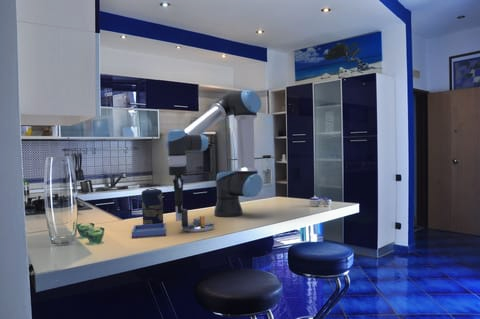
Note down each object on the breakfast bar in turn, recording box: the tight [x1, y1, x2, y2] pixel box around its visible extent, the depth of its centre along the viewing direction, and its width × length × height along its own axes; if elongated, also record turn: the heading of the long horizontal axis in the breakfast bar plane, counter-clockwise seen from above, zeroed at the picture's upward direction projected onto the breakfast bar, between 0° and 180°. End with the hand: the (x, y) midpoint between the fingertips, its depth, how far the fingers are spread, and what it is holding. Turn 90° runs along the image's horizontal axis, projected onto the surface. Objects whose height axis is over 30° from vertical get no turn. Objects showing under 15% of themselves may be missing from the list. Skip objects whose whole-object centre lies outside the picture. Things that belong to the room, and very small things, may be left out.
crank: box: [181, 208, 200, 230], centre depth 162 cm, size 12×4×8 cm, turn 148°
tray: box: [131, 222, 167, 239], centre depth 159 cm, size 14×15×2 cm
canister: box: [141, 187, 164, 225], centre depth 175 cm, size 10×10×18 cm
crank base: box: [181, 215, 215, 233], centre depth 165 cm, size 14×14×6 cm
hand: (179, 220), depth 160 cm, fingers closed
